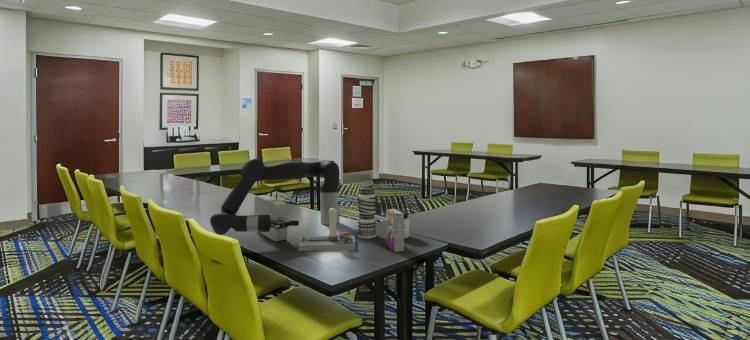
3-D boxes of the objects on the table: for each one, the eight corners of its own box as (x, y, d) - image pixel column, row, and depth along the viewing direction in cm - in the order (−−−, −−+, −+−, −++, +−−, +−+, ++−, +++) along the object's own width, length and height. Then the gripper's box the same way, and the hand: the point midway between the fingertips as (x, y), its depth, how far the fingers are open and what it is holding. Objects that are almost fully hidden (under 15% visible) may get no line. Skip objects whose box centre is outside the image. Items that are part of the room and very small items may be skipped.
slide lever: (337, 237, 210) (337, 206, 208) (337, 240, 206) (337, 208, 204) (328, 237, 210) (328, 206, 208) (328, 240, 205) (327, 208, 204)
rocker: (351, 240, 206) (352, 237, 206) (351, 242, 203) (352, 239, 203) (338, 236, 206) (339, 233, 206) (338, 239, 202) (339, 235, 202)
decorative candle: (374, 233, 230) (374, 182, 227) (378, 238, 221) (378, 185, 218) (356, 234, 228) (355, 183, 225) (359, 239, 219) (358, 186, 216)
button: (346, 235, 214) (345, 231, 214) (351, 237, 212) (351, 232, 212) (339, 237, 212) (339, 232, 212) (345, 238, 209) (345, 234, 209)
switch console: (354, 241, 216) (354, 232, 215) (355, 249, 202) (355, 240, 201) (301, 242, 214) (301, 233, 214) (298, 251, 200) (298, 241, 200)
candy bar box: (385, 245, 208) (385, 209, 206) (396, 244, 209) (396, 208, 207) (393, 252, 197) (393, 214, 195) (404, 251, 199) (404, 213, 197)
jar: (388, 238, 220) (388, 213, 219) (393, 234, 228) (393, 209, 227) (407, 239, 218) (407, 214, 216) (410, 235, 225) (411, 210, 224)
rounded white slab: (292, 240, 218) (291, 202, 216) (276, 242, 214) (275, 203, 211) (269, 228, 241) (268, 193, 239) (255, 230, 237) (254, 195, 235)
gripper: (255, 218, 198) (297, 217, 199) (260, 211, 211) (299, 211, 212) (256, 235, 198) (297, 235, 200) (261, 228, 212) (300, 227, 213)
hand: (298, 222), depth 206 cm, fingers closed
